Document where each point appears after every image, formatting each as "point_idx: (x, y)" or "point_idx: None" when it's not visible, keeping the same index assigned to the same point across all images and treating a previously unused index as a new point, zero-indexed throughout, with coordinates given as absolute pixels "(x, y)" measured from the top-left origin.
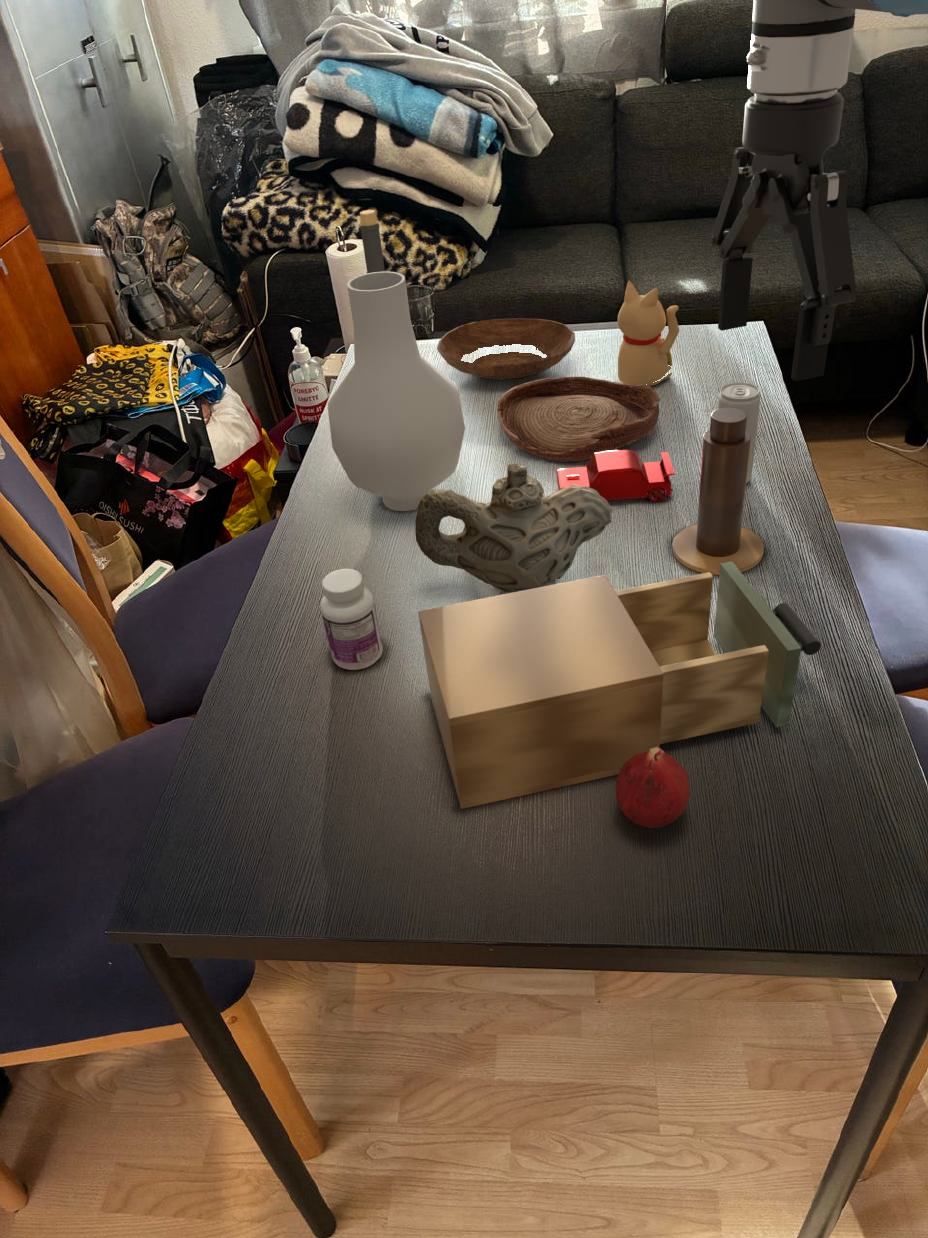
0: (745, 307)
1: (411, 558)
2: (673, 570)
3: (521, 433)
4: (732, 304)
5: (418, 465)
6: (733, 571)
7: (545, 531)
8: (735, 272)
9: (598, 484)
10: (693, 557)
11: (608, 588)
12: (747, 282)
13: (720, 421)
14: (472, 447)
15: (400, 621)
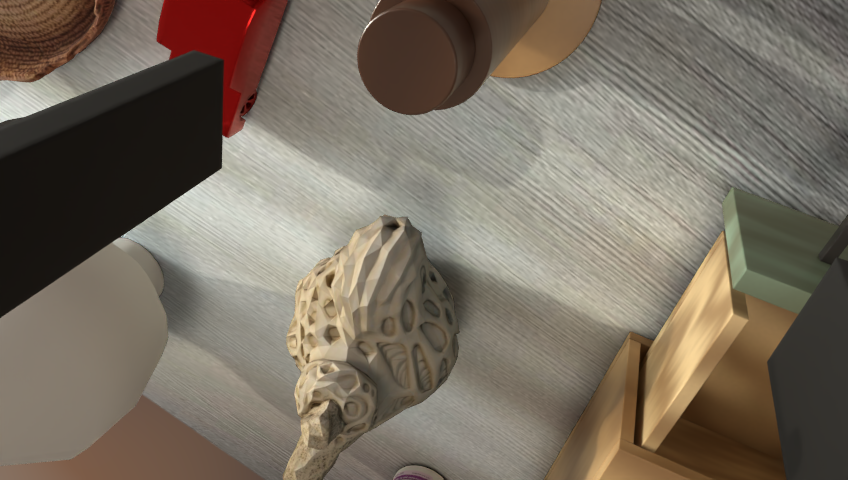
0: (168, 97)
1: (274, 347)
2: (511, 99)
3: (4, 38)
4: (154, 173)
5: (145, 360)
6: (774, 293)
7: (415, 366)
8: (31, 243)
9: (243, 81)
10: (511, 56)
11: (654, 470)
12: (77, 144)
13: (424, 112)
14: (14, 110)
15: (391, 427)
